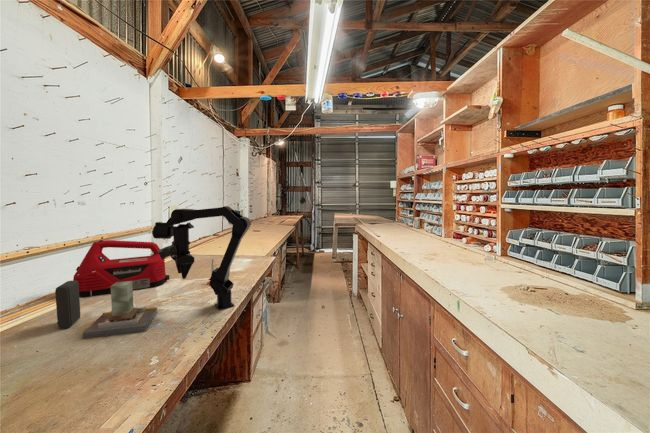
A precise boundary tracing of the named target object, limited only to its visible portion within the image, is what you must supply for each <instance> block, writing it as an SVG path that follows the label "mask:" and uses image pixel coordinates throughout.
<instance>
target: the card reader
mask: <svg viewBox="0 0 650 433" xmlns="http://www.w3.org/2000/svg"><path fill="white" fill-rule="evenodd" d="M54 295H55V308H56V320H57V327H58V329H60V330H61V329H68V328H71V327H72V326H73V325H74V324H76V323H77V322H78V320H79V319H80V318H81V302H80V301H81V300H80V297H79V283H78V281H76V280H74V281H73V280H67V281H66V282H64V283H62V284H60V285H59V286H57V287H55V294H54Z"/></svg>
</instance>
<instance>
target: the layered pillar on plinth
mask: <svg viewBox="0 0 650 433" xmlns="http://www.w3.org/2000/svg"><path fill="white" fill-rule="evenodd" d="M110 300H111V301H110V302H111V303H110V304H111V311H112V314H111V315H110V316H109V317H108V321H110V322H114V320H121V319H127V320H131V318H132V317H133V316H134V315H135V314H136V312H137V311H138V308H139V307H134V291H133V288H132V281H125V282H116V283H114V284H113V285H112V286H111V294H110Z"/></svg>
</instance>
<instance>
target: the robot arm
mask: <svg viewBox="0 0 650 433" xmlns="http://www.w3.org/2000/svg"><path fill="white" fill-rule="evenodd" d="M215 217H223V218H224V219H225V220H226V221H227V222H228V223H230V225H232V227H231V236H230V240H229V243H228V245H227V248H226V249H225V253H224V255H223V257H222V259H221V263H220V265H219V267H216V268H214V270H213V271H212V270H211V273H212V275H211V274H210V277H209V279H208V281H210V284H209V286H210V288H211V289H213V292H214V293H213V294H214V295H215V296H216V299H217V300H216V303H214V306H215V307H216V308H217V310H223V309H227V308H232V307H235V303H233V302H232V289H233V287H234V283H233V281H231V280H230V279H229V278H230V271H231V270H230V269H231V266H232V263H233V261H234V259H235V257H236V254H237V252H238V249H239V247H240V244H241V241H242V240H243V237H245V235H246V234H247V232H248V231H249V228H250V227H251V225H252V222H251V219H250V218H249V217H247V216H243V215H242V214H240V213H239V212H237V211H236V210H234V209H233V208H231V207H230V206H227V205H226V206H221V207H213V208H212V207H211V208H203V209H196V208H195V209H193V208H178V209H177V208H176V209H174V210H172V212H171V214H170V217H169V218H168V219H167V221H166V222H163V221H157V222H155V223H154V226H153V228H152V231H151V232H152V233H151V234H152V237H153V238H154V239H157V240H158V239H161V240H163V239H165V240H166V239H167V240H169V239H172V238H173V240H172V241H171V245H167V246H165V247H162V248H160V250H158V253H159V256H160V258H161V259H164V260H165V259H166V258H168V257H170V259H172V260H173V261H174V262H175V266H176V270H177V273H178V274H181V279H182V280H184V279H186V278H187V276H188V274H189V272H190V270H191V268H192V265H193V264H194V263H195V257H194V256H193V255H192V254H191V251H190V245H191V241H190V234H189V233H190V232H189V231H190V229H193V228H195V226H194V225H193V224H191V222H190V221H194V220H196V219H197V220H198V219H206V218H207V219H208V218H215ZM182 223H183V224H182Z"/></svg>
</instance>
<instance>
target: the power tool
mask: <svg viewBox="0 0 650 433" xmlns="http://www.w3.org/2000/svg"><path fill="white" fill-rule="evenodd" d="M105 248H106V249H107V248H114V249H115V248H117V249H119V248H121V249H147V250H151V252H152V253H153V254H152V255H144V256H134V257H133V256H132V257H125V258H115V259H109V257H107V255H106V254H104V253H103V249H105ZM160 249H161V248H160V246H159V245H158V244H157V243H155V242H154V241H136V240H135V241H134V240H133V241H131V240H113V239H108V240H106V239H105V240H102V239H100V240H98V241H94V242H93V243H92V244H91V246H90V248H89V249H88V251H87V252H86V254H85V256H84V258H83V259H82V261H81V263H80V264H79V265H78V266H77V268H76V269H75V271H76V272H75V273H74V275H73V279H72V281H74V280H76V281H78V283H79V298H90V297H92V298H93V297H98V296H106V295H111V286H112V285H113V284H114V283H116V282H125V281H132V288H133V292H134V291H140V290H147V289H153V288H157V287H161V286H162V285H165V283H166V282H167V281H170V274H166V262H165V261H166V260H165V259H161V258H160V256H159V253H158V250H160Z"/></svg>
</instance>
